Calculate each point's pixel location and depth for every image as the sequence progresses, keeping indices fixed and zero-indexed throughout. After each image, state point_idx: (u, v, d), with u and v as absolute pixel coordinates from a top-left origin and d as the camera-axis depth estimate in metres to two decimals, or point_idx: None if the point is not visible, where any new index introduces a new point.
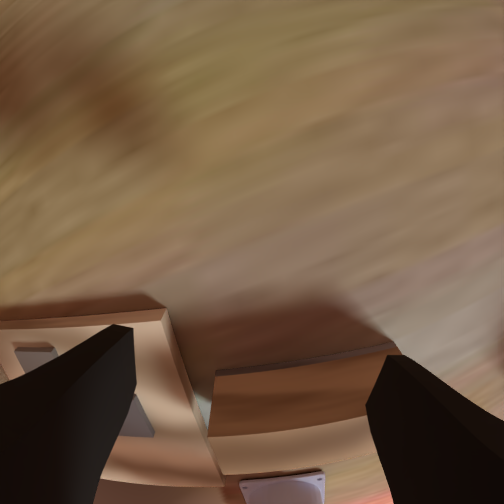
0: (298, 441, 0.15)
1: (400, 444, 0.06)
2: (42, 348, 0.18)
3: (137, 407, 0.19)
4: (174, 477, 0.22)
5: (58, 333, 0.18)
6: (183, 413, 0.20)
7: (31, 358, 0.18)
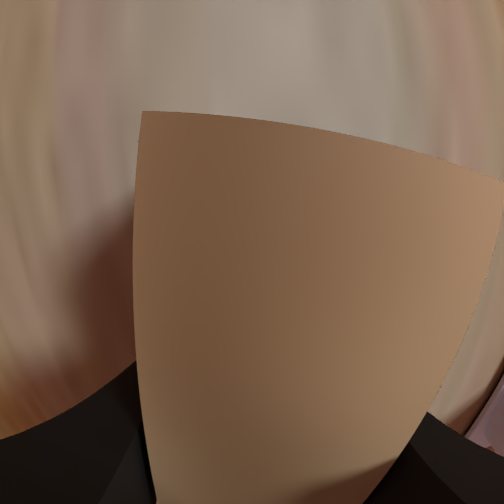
0: None
1: None
2: None
3: None
4: None
5: None
6: None
7: None
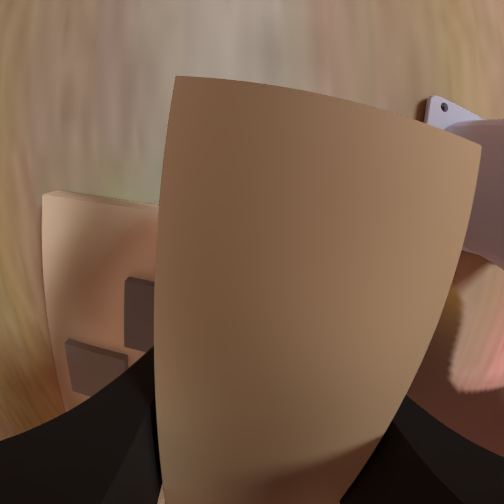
0: (216, 494, 0.05)
1: None
2: None
3: (139, 284, 0.15)
4: None
5: (52, 321, 0.16)
6: None
7: (76, 375, 0.17)
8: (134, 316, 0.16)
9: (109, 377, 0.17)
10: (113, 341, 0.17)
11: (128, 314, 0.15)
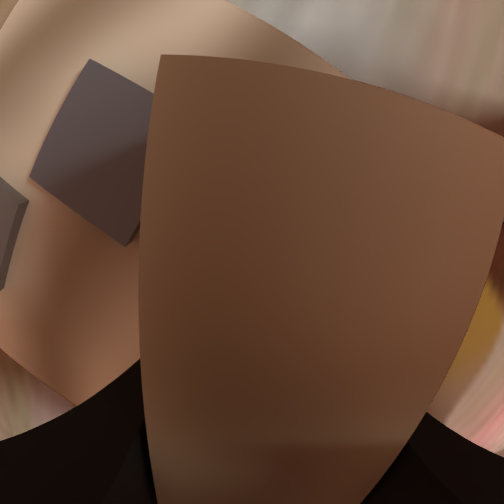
0: None
1: None
2: None
3: (107, 69, 0.07)
4: None
5: None
6: (204, 13, 0.07)
7: None
8: (69, 123, 0.08)
9: None
10: (20, 168, 0.08)
11: (62, 117, 0.07)
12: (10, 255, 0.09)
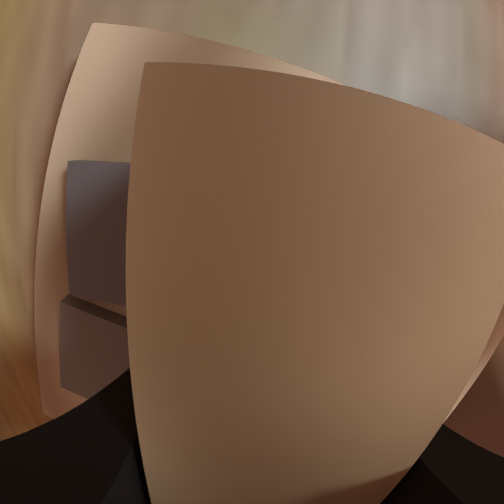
0: None
1: None
2: None
3: (90, 163, 0.08)
4: None
5: (45, 258, 0.09)
6: None
7: (72, 361, 0.10)
8: (82, 229, 0.08)
9: None
10: None
11: (72, 227, 0.08)
12: None
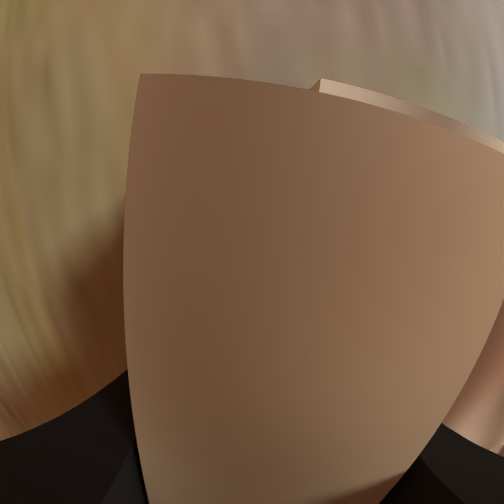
0: None
1: None
2: None
3: None
4: None
5: None
6: None
7: None
8: None
9: None
10: None
11: None
12: None
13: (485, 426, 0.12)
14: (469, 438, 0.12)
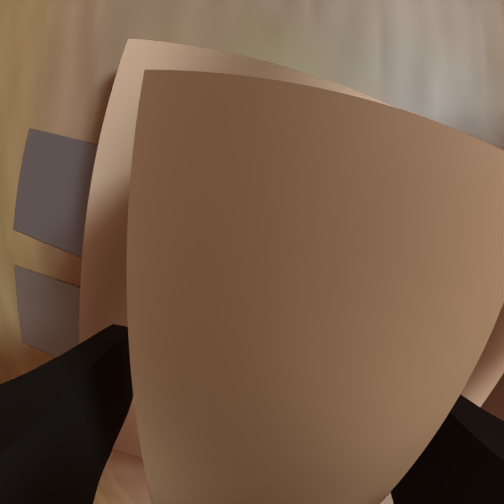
0: None
1: None
2: None
3: (43, 132, 0.09)
4: None
5: (91, 288, 0.09)
6: None
7: (27, 316, 0.11)
8: (29, 180, 0.10)
9: (70, 320, 0.11)
10: None
11: (23, 178, 0.10)
12: None
13: None
14: None
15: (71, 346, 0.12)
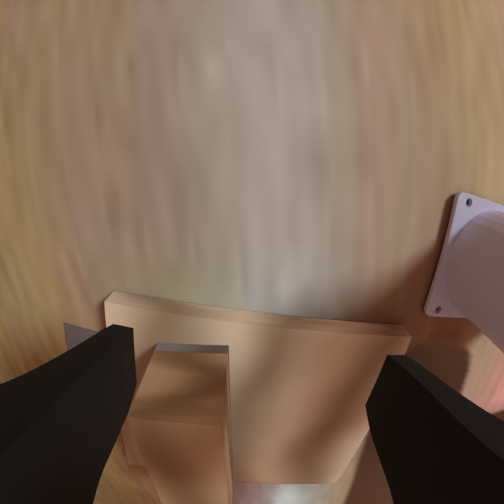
0: (178, 499, 0.14)
1: (400, 444, 0.06)
2: None
3: (73, 325, 0.19)
4: (366, 389, 0.18)
5: None
6: (235, 333, 0.17)
7: None
8: None
9: None
10: None
11: (69, 345, 0.19)
12: None
13: (288, 467, 0.21)
14: (277, 472, 0.21)
15: None
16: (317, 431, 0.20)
